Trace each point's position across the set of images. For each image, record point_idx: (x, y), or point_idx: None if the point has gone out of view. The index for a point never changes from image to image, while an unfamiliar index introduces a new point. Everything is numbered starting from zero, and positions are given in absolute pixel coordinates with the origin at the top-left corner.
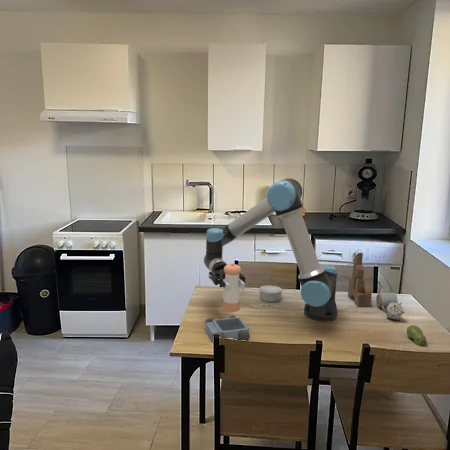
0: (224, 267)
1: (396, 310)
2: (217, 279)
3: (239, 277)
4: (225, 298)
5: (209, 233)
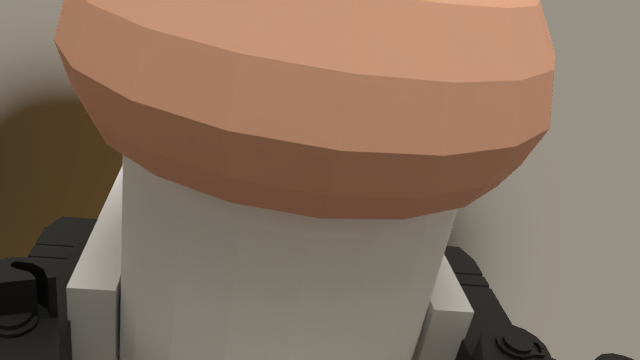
0: (548, 37)
1: None
2: (599, 356)
3: (53, 289)
4: None
5: None
